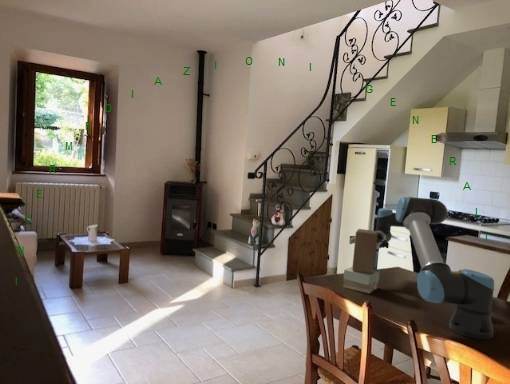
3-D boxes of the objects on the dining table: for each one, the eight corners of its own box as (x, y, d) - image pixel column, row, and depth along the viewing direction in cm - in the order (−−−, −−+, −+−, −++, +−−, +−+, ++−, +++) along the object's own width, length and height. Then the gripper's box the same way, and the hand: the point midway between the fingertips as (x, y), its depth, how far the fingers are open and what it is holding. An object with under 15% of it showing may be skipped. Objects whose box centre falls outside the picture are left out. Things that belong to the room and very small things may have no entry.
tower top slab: (368, 285, 197) (369, 276, 197) (343, 278, 205) (344, 269, 205) (378, 280, 207) (379, 271, 207) (354, 274, 215) (355, 265, 215)
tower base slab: (368, 294, 198) (369, 285, 197) (343, 287, 205) (344, 278, 205) (377, 288, 208) (378, 279, 208) (353, 282, 216) (353, 274, 215)
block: (372, 274, 199) (377, 233, 198) (351, 271, 203) (355, 231, 201) (374, 270, 209) (378, 230, 207) (353, 266, 212) (357, 228, 210)
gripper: (399, 250, 215) (387, 256, 198) (354, 241, 229) (338, 246, 212) (401, 235, 215) (389, 241, 197) (355, 228, 228) (340, 232, 211)
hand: (363, 243), depth 204 cm, fingers open, 13 cm apart
